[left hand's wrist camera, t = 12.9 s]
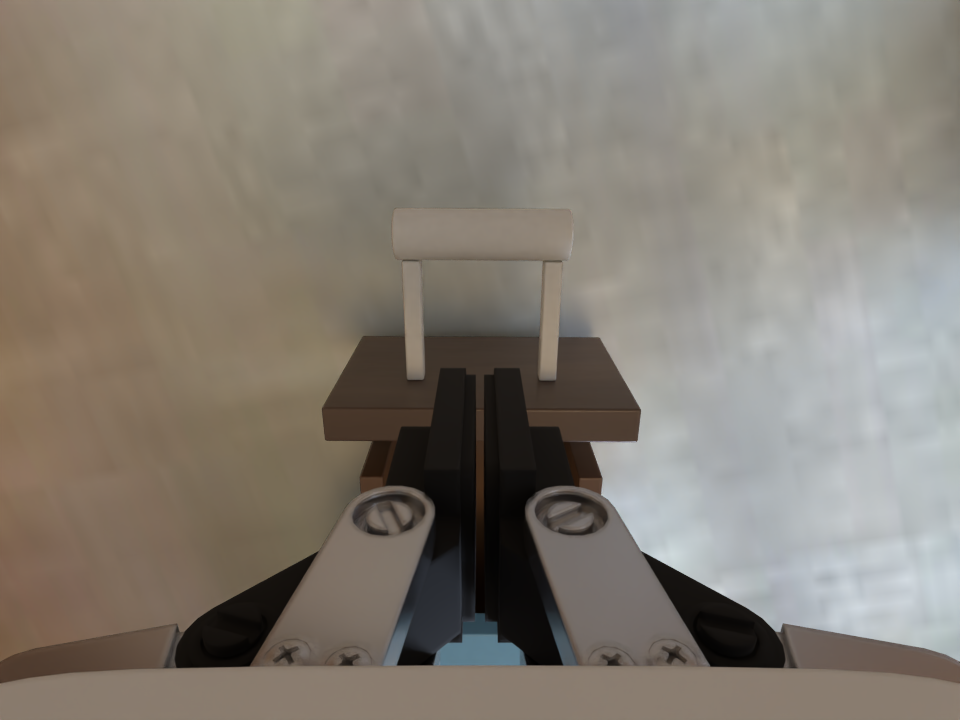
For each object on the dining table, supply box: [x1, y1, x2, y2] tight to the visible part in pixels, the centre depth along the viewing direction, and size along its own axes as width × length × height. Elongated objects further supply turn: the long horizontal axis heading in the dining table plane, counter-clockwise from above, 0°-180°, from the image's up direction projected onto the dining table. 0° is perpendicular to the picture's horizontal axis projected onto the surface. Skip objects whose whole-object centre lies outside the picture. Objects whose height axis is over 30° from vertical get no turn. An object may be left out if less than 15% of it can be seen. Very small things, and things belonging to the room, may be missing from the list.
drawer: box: [322, 208, 641, 613], centre depth 24 cm, size 26×10×7 cm, turn 0°
